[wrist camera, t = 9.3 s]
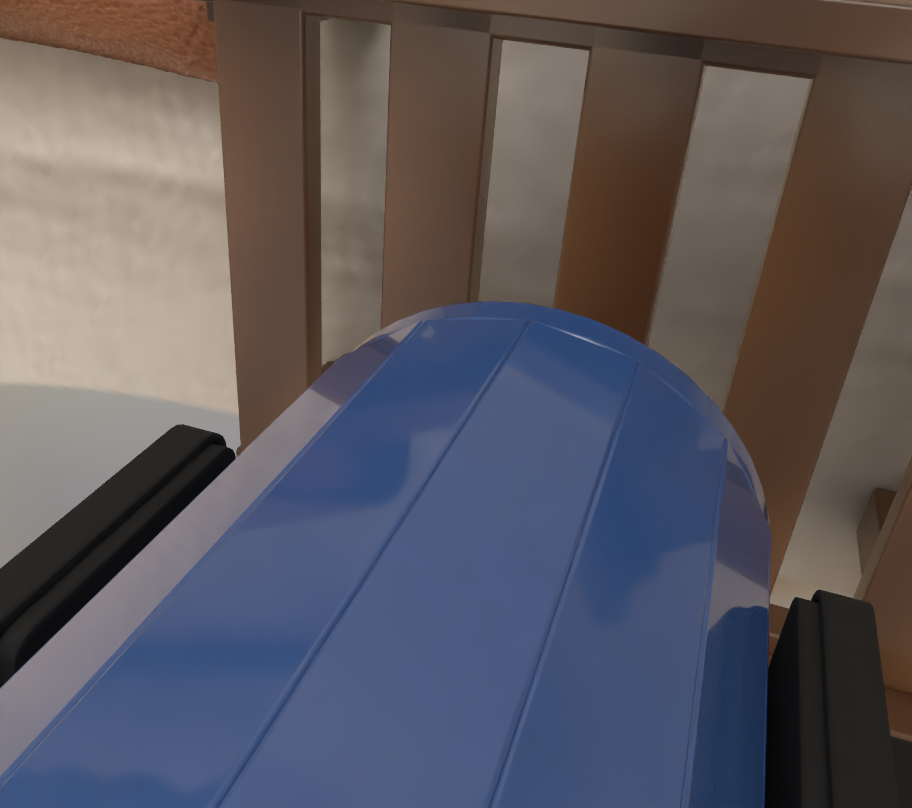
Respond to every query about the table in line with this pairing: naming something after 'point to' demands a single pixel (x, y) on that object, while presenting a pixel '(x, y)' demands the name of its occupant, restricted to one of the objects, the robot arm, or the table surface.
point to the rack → (594, 208)
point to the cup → (433, 597)
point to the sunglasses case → (120, 31)
